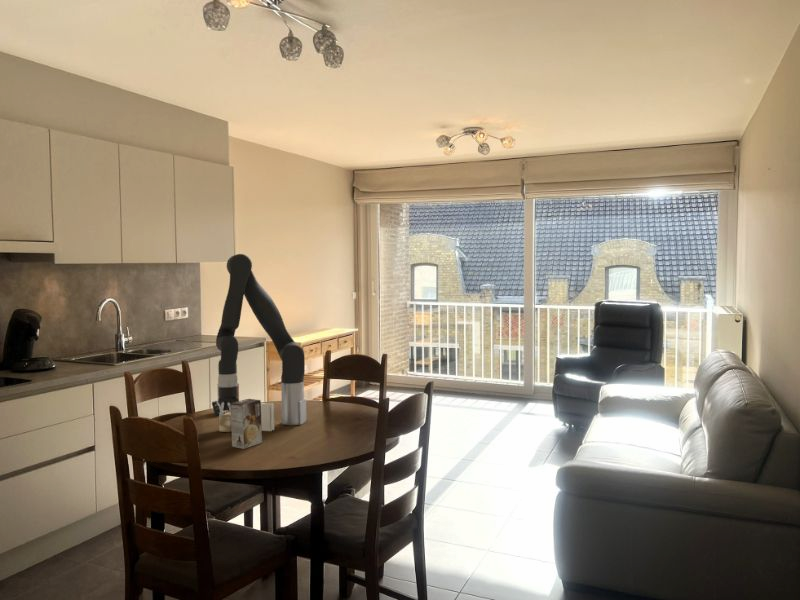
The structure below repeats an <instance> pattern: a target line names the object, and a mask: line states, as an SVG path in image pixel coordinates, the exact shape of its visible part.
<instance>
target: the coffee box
mask: <svg viewBox="0 0 800 600" xmlns="http://www.w3.org/2000/svg"><path fill="white" fill-rule="evenodd" d="M261 403H262V401H261V399H255V398H253V399H252V398H247V399H243V400H242V399H241V400H239V401H237V402H233V403H231V426H232V431H231V446H232V448H238V449H241V450H245V449H249V448H251V447H253V446H256V445H259V444H262V443H263V434H262V433H263V431H262V426H261Z"/></svg>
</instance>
